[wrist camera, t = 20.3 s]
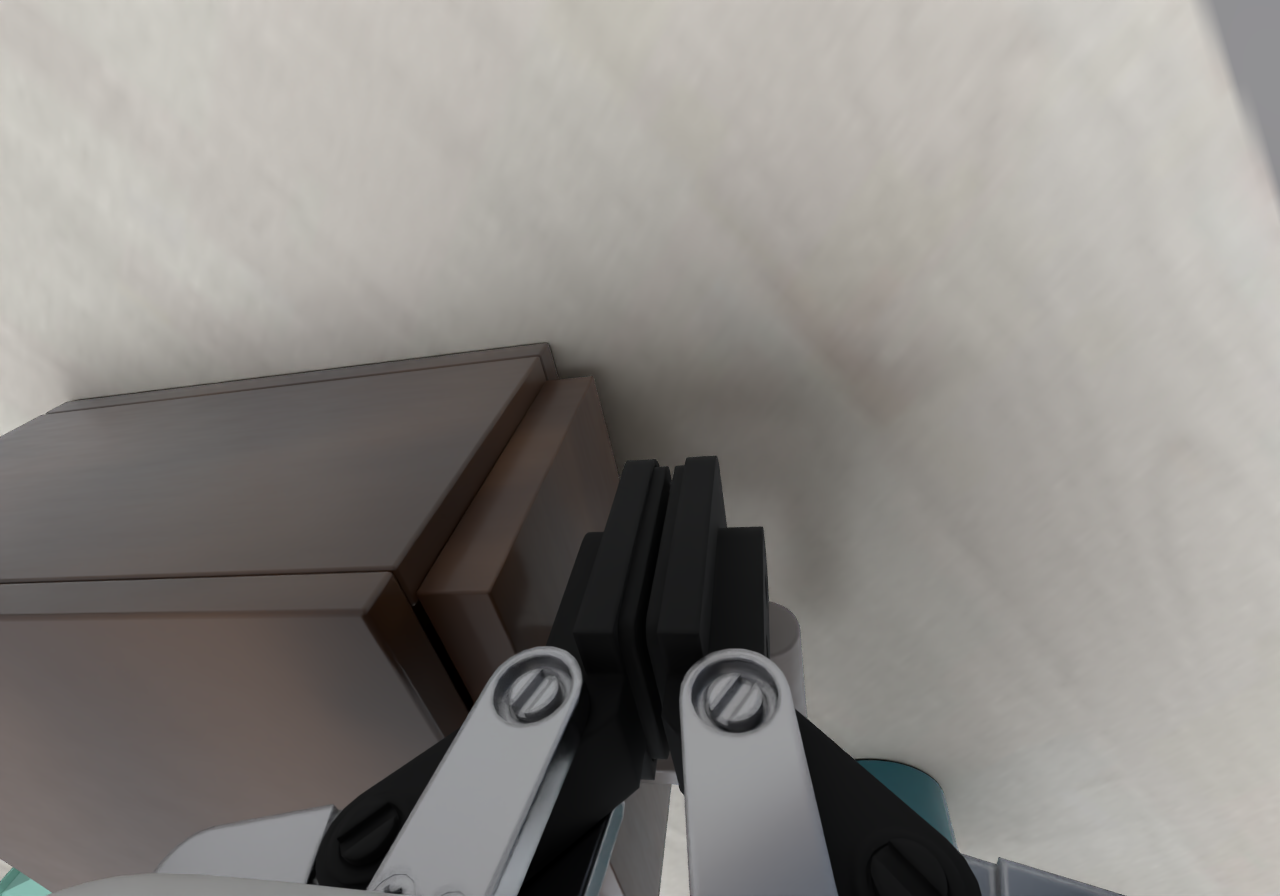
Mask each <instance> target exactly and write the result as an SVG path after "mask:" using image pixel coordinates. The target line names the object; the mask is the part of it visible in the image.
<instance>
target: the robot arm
mask: <svg viewBox="0 0 1280 896" xmlns="http://www.w3.org/2000/svg"><path fill="white" fill-rule="evenodd" d="M669 752H670V753H671V757H672V761H673V765H674V769H675V773H676V776H677V780H678V784H679V788H680V791H681V792H682V793H683V795H684V796H685V814H686V833H687V852H688V870H689V889H690V896H1125V895H1122V894H1118V893H1115V892H1112V891H1109V890H1105V889H1102V888H1099V887H1095V886H1092V885H1089V884H1085V883H1082V882H1079V881H1076V880H1072V879H1069V878H1066V877H1062V876H1059V875H1056V874H1053V873H1049V872H1046V871H1043V870H1039V869H1036V868H1033V867H1029V866H1026V865H1023V864H1020V863H1016V862H1013V861H1010V860H1006V859H1003V858H1000V857H999V858H998V862H997V864H993V863H990V862H987V861H984V860H980V859H977V858H974V857H971V856H967V855H964V854H961V853H960V852H959V851H958V850H957V849H956V848H955V847H954V846H953V845H952V844H951V843H950V842H949V841H948V839H946V838H945V837H944V836H943V835H942V834H941V833H939V832H938V831H937V830H936V829H935V828H934V827H932V826H931V825H930V824H929V823H928V822H927V821H925V820H924V819H923V818H922V817H921V816H920V815H918V814H917V813H916V812H915V811H914V810H913V809H911V808H910V807H909V806H908V805H907V804H906V803H905V802H903V801H902V800H901V799H900V798H899V797H898V796H896V795H895V794H894V793H893V792H892V791H891V790H889V789H888V788H887V787H886V786H885V785H884V784H882V783H881V782H880V781H879V780H878V779H877V778H875V777H874V776H873V775H872V774H871V773H870V772H868V771H867V770H866V769H865V768H864V767H863V766H861V765H860V764H859V763H858V762H857V761H856V760H854V759H853V758H852V757H851V756H850V755H849V754H847V753H846V752H845V751H844V750H843V749H842V748H840V747H839V746H838V745H837V744H836V743H835V742H833V741H832V740H831V739H830V738H829V737H828V736H826V735H825V734H824V733H823V732H822V731H821V730H819V729H818V728H817V727H816V726H815V725H814V724H813V723H811V722H810V721H809V720H808V719H807V718H806V717H804V716H803V715H802V714H801V713H800V712H799V711H797V710H796V709H795V708H794V704H793V700H792V695H791V691H790V687H789V685H788V682H787V680H786V678H785V675H784V673H783V672H782V671H781V670H780V669H779V667H778V666H777V665H776V664H775V663H774V662H773V661H772V660H770V632H769V596H768V577H767V562H766V550H765V539H764V530H763V527H734V528H727V524H726V516H725V508H724V501H723V493H722V485H721V477H720V469H719V462H718V458H717V456H702V457H687V458H686V461H685V465H683V466H675V469H674V474H673V479H672V480H671V474H670V470H669V467H668V466H666V467H659V463H658V461H657V460H656V459H652V460H634V461H627V462H626V463H625V465H624V468H623V472H622V475H621V478H620V481H619V484H618V488H617V491H616V494H615V497H614V501H613V504H612V507H611V510H610V513H609V517H608V520H607V523H606V526H605V529H604V532H588V533H587V534H586V535H585V536H584V538H583V540H582V543H581V546H580V549H579V552H578V554H577V557H576V560H575V563H574V566H573V569H572V572H571V574H570V577H569V580H568V583H567V586H566V589H565V592H564V595H563V597H562V600H561V603H560V606H559V609H558V612H557V615H556V617H555V620H554V623H553V626H552V629H551V632H550V635H549V638H548V640H547V643H546V646H538V647H534V648H530V649H526V650H523V651H522V652H520V653H518V654H516V655H514V656H512V657H510V658H509V659H508V660H506V661H505V662H504V663H503V664H501V665H500V666H499V667H498V668H497V669H496V671H495V672H494V673H493V675H492V676H491V677H490V679H489V680H488V682H487V683H486V685H485V687H484V688H483V690H482V692H481V694H480V695H479V697H478V699H477V700H476V702H475V704H474V706H473V707H472V709H471V711H470V712H469V714H468V716H467V718H466V719H465V721H464V723H463V724H462V726H461V727H460V728H458V729H457V730H455V731H454V732H452V733H451V734H449V735H448V736H446V737H445V738H444V739H442V740H441V741H439V742H438V743H436V744H435V745H433V746H432V747H430V748H429V749H427V750H426V751H424V752H423V753H421V754H420V755H418V756H417V757H415V758H414V759H412V760H411V761H409V762H408V763H406V764H405V765H404V766H402V767H401V768H399V769H398V770H396V771H395V772H393V773H392V774H390V775H389V776H387V777H386V778H384V779H383V780H381V781H380V782H378V783H377V784H375V785H374V786H372V787H371V788H369V789H368V790H366V791H365V792H363V793H362V794H361V795H359V796H358V797H357V798H356V799H354V800H353V801H352V802H351V803H350V804H348V805H347V806H346V807H345V808H344V809H342V810H338V809H337V808H336V806H335V805H334V804H329V805H324V806H319V807H313V808H308V809H302V810H297V811H291V812H286V813H281V814H275V815H270V816H264V817H259V818H253V819H248V820H242V821H237V822H232V823H226V824H221V825H215V826H212V827H209V828H206V829H203V830H201V831H198V832H196V833H194V834H193V835H191V836H190V837H188V838H187V839H185V840H184V841H182V842H181V843H179V844H178V845H177V846H176V847H175V848H174V849H173V850H172V851H171V852H170V853H169V854H168V855H166V856H165V857H164V858H163V859H162V860H161V861H160V863H159V864H158V866H157V867H156V869H155V870H154V872H153V873H149V874H137V875H126V876H117V877H111V878H106V879H101V880H96V881H91V882H88V883H84V884H80V885H77V886H73V887H70V888H66V889H63V890H60V891H57V892H54V893H52V894H49V895H46V896H599V893H600V890H601V886H602V883H603V880H604V877H605V874H606V871H607V867H608V864H609V861H610V858H611V855H612V851H613V848H614V845H615V842H616V839H617V836H618V832H619V829H620V826H621V823H622V820H623V814H624V808H625V801H624V800H626V799H627V798H628V797H629V796H630V795H632V794H633V793H634V792H635V791H636V790H638V789H639V787H640V781H641V780H655V774H656V766H657V759H668V756H669Z"/></svg>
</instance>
